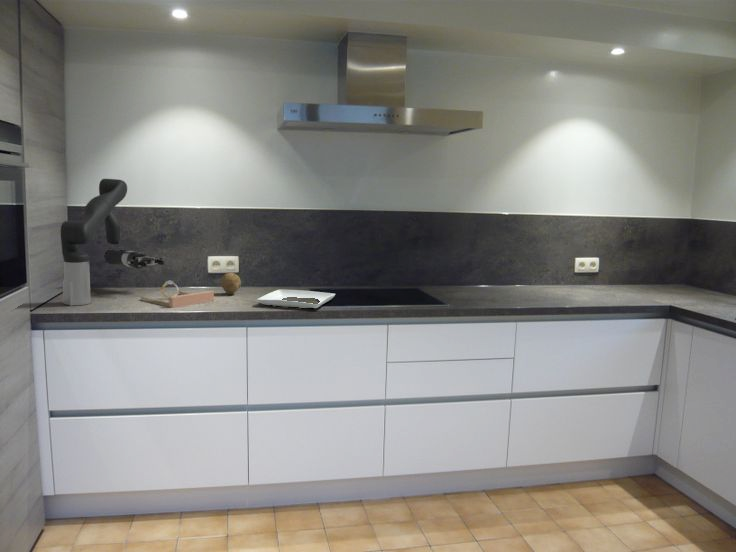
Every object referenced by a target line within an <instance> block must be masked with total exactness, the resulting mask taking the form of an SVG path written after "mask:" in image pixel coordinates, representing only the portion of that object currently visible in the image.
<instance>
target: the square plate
mask: <svg viewBox="0 0 736 552" xmlns="http://www.w3.org/2000/svg"><path fill="white" fill-rule="evenodd" d="M335 296H336V293H331V292H323V291H322V292H320V291H311V290H302V289H301V290H298V289H282V288H281V289H277V290H274V291H272V292H269V293H266V294H264V295H263V296H260V297H259V298H256V300H257V301H258V302H259V303H261V304H263V305H266V306H270V305H274V306H273V307H275V306H291V307H306V308H314V309H317V308H319V307H321V306H322V305H324V304H325V303H327V302H329V301H331V300H332V299H333V298H334V297H335ZM287 297H297V298H315V299H318V300H319V301H320V302H319V303H318V304H313V303H306V302H298V301H287V300H282V299H283V298H287Z"/></svg>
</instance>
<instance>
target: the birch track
mask: <svg viewBox="0 0 736 552" xmlns="http://www.w3.org/2000/svg"><path fill="white" fill-rule="evenodd" d="M193 293H194V292H189V291H184V290H179V292H178V296H179V295H186V294H193ZM140 300H141V301H143V302H147V303H152V304H157V305H160V306H163V307H169V301H166V300H162V299H158V298H153V297H149V296H145V295H142V296H140ZM169 308H170V307H169Z"/></svg>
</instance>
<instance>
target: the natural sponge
mask: <svg viewBox="0 0 736 552" xmlns="http://www.w3.org/2000/svg"><path fill="white" fill-rule="evenodd" d="M220 284H221V287H222V290H223V291H224V292H225V293H226V294H227V295H229V296H230V295H233V294H235V293H236V292H237V291H238V290H239V289H240V288H241V286H242V281H241V277H240V276H238V275H237V274H236V273H234V272H227V273H225V274H224V275H223V276H222V277H221V278H220Z"/></svg>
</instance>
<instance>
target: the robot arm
mask: <svg viewBox="0 0 736 552" xmlns="http://www.w3.org/2000/svg"><path fill="white" fill-rule="evenodd" d="M98 185H99V186H98V193H99V195H97V196H95V197H93V198H92V199H89V201H88V202H87V204H86V205H85V207H84V209H83V214H84V217H85V219H86V220H84V221H83V220H82V221H81V220H80V221H78V220H65V221H63V222H62V223H61V226H60V232H59V233H60V243H61V253H62V257H63V274H64V277H63V280H62V303H63V304H64V305H67V306H71V307H72V306H84V305H89V304H91V301H92V299H91V274H90V256H89V253H86V252H84V251H81V250H80V249H78V248H77V246H76V245H82V246H83V245H87V244H88V245H89V244H90V243H91V241H92V240H93V238H94V236H95V235H96V233H97V231H98V229H99V228H100V226H101V225H102V224H103V222H104V231H105V230H106V236H105V240H106V239H107V242H108V243H107V242H106V243H107V244H109V243H110V244H109V245H115V244H118V243H119V240H120V224H121V223H120V224H119V221H120V220H119V218H118V217H117V215H116V214H115V212H114V211H113V212H114V213H113V212H112V210H113V209H114V208H115V207H116V206H117V205H119V203H120V202H122V201H123V200H124V199H125V197H126V195H127V193H128V185H127V183H126V182H125V181H124V180H122V179H115V178H102V179H101V180H100V181H99V184H98ZM114 214H115V215H116V216H115V215H114ZM116 217H117V218H118V219H117V218H116ZM118 220H119V221H118ZM104 257H105V260H106V262H108V263H109V264H108V265H122V266H126V267H128V268H132V269H137V270H138V269H143V268H146V267H148V266H155V265H161V266H163V265H165V260H164V259H163V257H158V256H152V257H150V256H148V255H146V254H145V253H144V252H141V251H136V250H127V249H125V250H120V251H115V250H107V251H106V252H105V255H104ZM106 262H105V263H106Z"/></svg>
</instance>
